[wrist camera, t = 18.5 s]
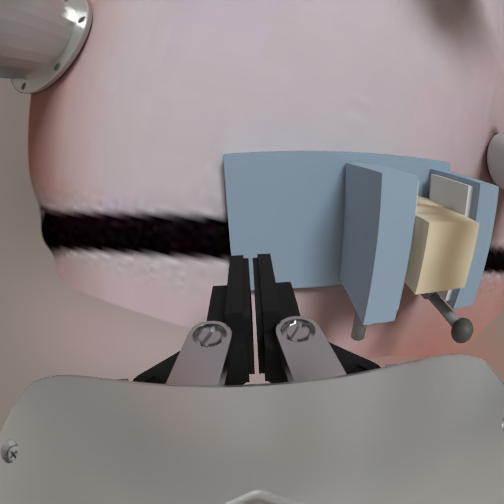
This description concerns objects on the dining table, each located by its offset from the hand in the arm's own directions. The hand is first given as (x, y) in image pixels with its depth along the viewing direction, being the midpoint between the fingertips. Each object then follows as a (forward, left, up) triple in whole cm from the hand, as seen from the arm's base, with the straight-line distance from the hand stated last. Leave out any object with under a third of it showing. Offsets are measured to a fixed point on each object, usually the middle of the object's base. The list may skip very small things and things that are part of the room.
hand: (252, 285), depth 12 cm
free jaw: (+9, -3, -11) cm, 14 cm away
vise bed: (+8, -2, -12) cm, 15 cm away
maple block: (+13, -1, -11) cm, 17 cm away
